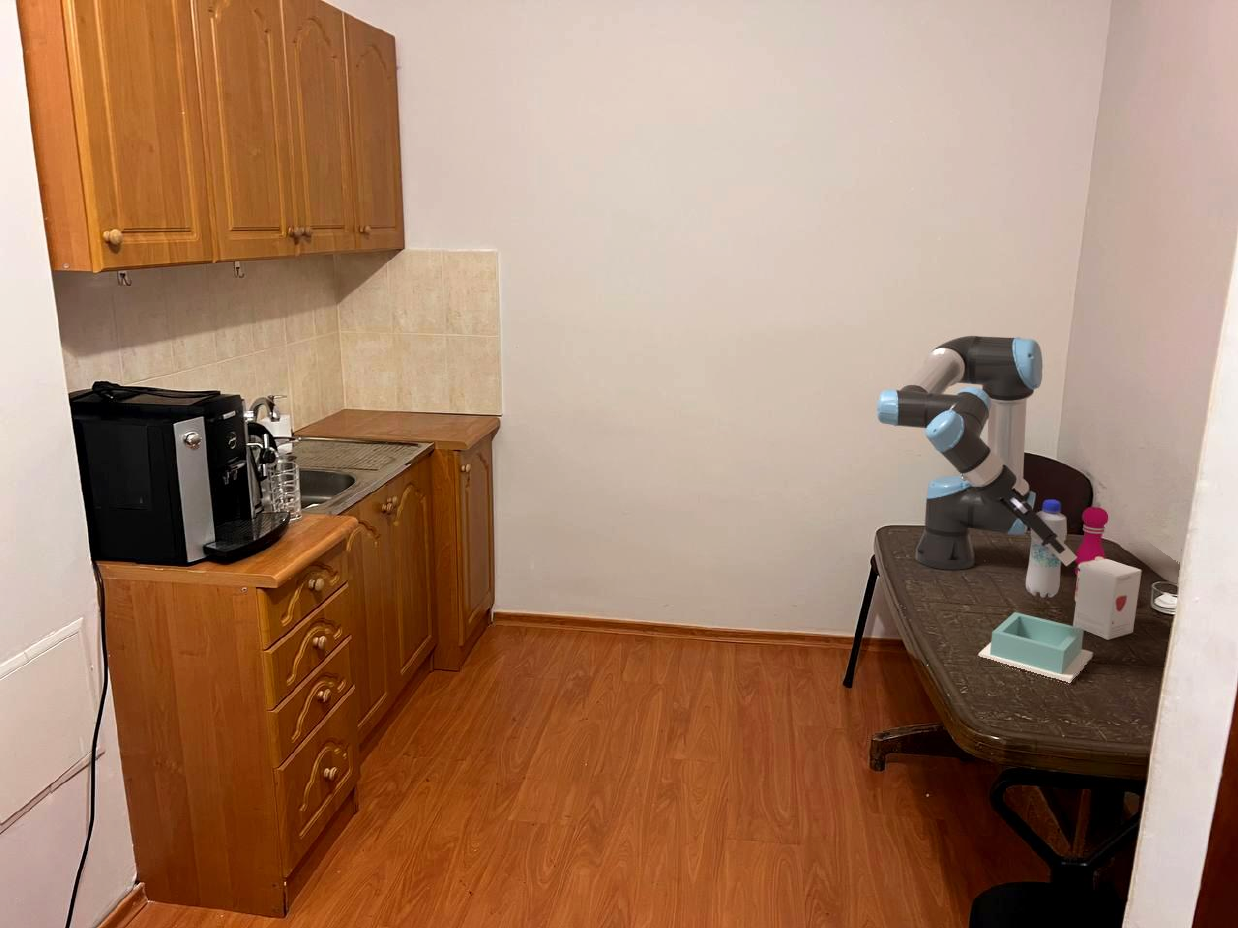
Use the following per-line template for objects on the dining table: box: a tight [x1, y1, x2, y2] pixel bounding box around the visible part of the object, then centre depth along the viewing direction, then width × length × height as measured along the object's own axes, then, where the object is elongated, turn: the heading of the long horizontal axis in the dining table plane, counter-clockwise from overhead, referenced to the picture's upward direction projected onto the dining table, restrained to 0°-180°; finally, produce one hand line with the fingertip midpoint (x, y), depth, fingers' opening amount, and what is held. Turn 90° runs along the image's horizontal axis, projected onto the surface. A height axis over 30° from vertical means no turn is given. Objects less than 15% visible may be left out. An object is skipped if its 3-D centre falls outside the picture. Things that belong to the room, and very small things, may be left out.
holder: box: [977, 611, 1094, 684], centre depth 193 cm, size 18×16×6 cm
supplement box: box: [1072, 558, 1143, 641], centre depth 206 cm, size 9×9×15 cm
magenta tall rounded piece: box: [1074, 501, 1109, 576], centre depth 239 cm, size 7×7×20 cm
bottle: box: [1025, 499, 1068, 598], centre depth 188 cm, size 7×7×20 cm
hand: (1064, 555), depth 188 cm, fingers closed on bottle, 7 cm apart
